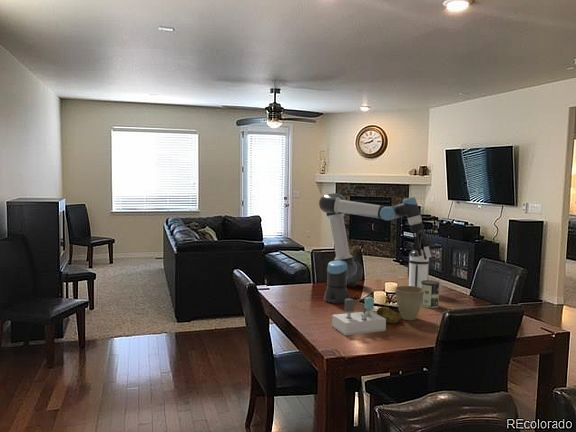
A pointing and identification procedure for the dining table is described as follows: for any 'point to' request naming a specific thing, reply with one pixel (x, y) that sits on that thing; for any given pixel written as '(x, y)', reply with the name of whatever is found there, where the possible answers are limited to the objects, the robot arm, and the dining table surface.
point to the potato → (389, 315)
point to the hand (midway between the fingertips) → (425, 259)
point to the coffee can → (430, 293)
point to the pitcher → (359, 272)
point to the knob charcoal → (349, 307)
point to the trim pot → (364, 316)
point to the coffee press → (417, 269)
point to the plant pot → (409, 301)
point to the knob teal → (369, 304)
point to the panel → (358, 323)
